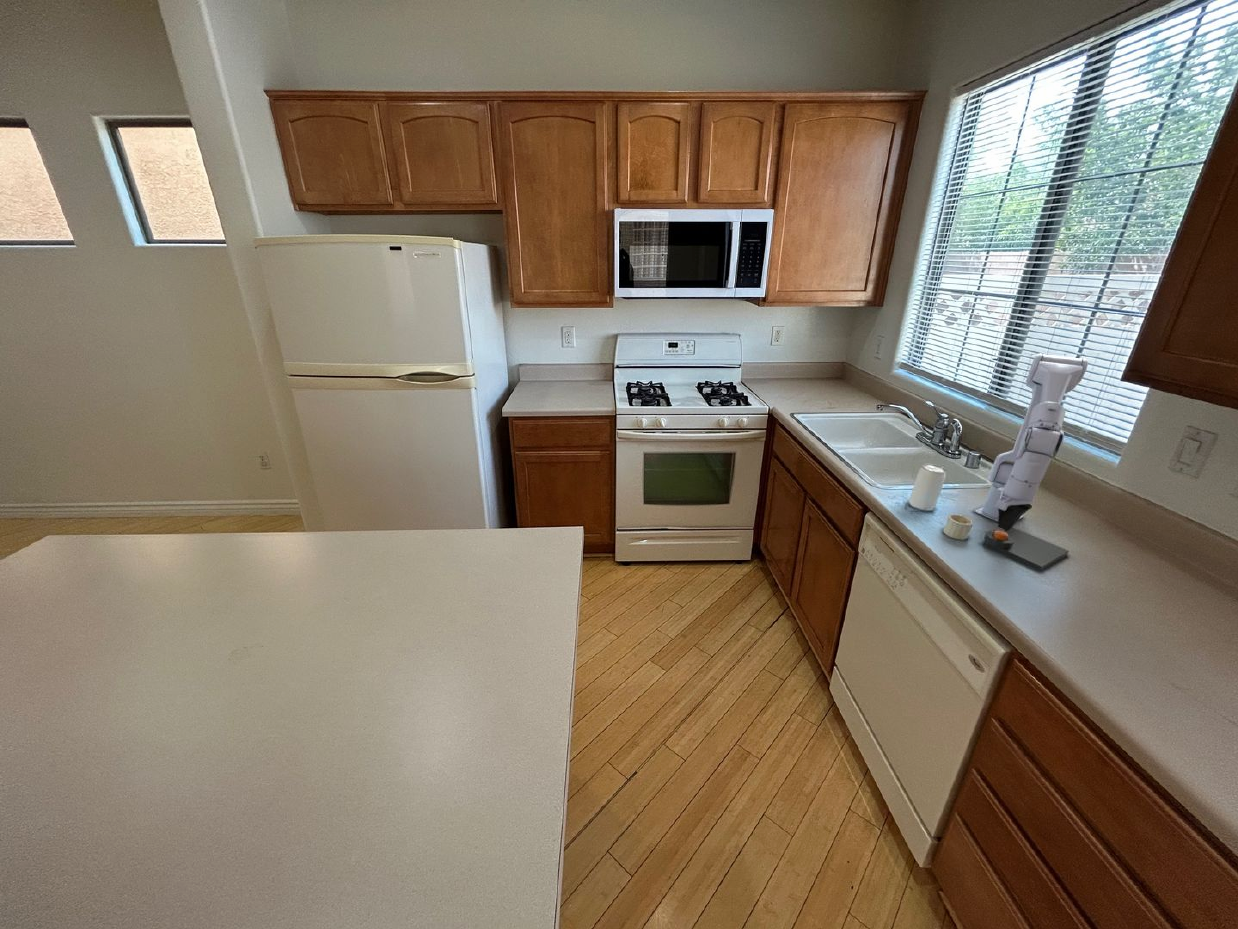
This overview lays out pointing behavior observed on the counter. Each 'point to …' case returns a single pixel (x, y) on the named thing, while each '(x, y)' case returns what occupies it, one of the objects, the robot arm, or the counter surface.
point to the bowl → (958, 526)
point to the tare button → (1000, 535)
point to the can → (927, 487)
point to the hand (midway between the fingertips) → (1003, 528)
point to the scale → (1026, 548)
